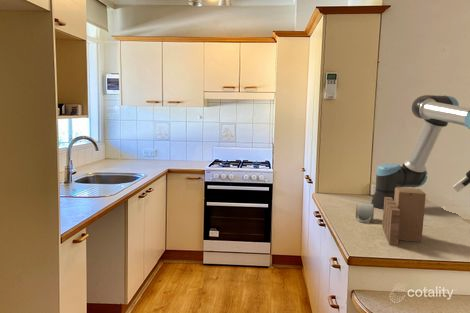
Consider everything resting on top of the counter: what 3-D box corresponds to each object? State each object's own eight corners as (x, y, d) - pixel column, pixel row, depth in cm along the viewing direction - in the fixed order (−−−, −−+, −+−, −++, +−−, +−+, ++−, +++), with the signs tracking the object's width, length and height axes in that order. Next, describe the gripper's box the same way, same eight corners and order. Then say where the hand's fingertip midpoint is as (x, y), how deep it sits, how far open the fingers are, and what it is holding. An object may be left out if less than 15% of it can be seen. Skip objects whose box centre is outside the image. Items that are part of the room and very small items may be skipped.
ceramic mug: (355, 216, 192) (356, 201, 191) (373, 218, 189) (374, 203, 188) (354, 222, 182) (355, 206, 181) (373, 224, 179) (374, 208, 178)
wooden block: (421, 242, 156) (426, 193, 153) (395, 239, 158) (399, 191, 155) (416, 234, 165) (420, 188, 163) (391, 232, 167) (394, 187, 165)
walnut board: (382, 227, 175) (384, 196, 173) (389, 227, 174) (391, 197, 172) (389, 244, 152) (391, 210, 150) (397, 245, 151) (400, 210, 149)
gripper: (522, 159, 142) (466, 200, 148) (507, 155, 154) (456, 193, 160) (507, 144, 142) (452, 185, 149) (493, 141, 155) (443, 179, 161)
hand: (455, 189), depth 154 cm, fingers closed
